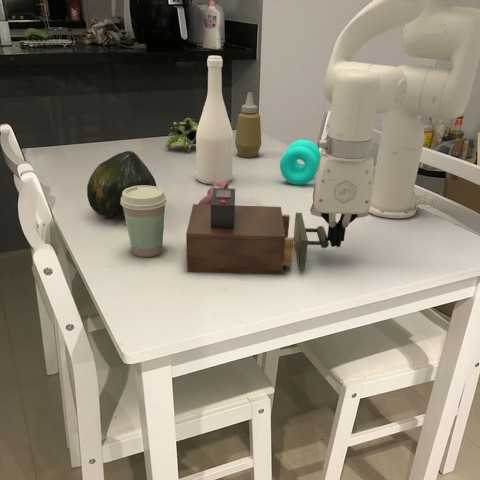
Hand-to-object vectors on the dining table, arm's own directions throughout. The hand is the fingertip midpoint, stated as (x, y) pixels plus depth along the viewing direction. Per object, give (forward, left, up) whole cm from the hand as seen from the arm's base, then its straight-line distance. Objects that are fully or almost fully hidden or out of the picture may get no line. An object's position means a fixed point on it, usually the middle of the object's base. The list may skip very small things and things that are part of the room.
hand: (334, 243), depth 103 cm
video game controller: (+25, -28, -3) cm, 38 cm away
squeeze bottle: (+17, -71, -3) cm, 73 cm away
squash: (+45, -20, -3) cm, 49 cm away
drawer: (+12, 0, -2) cm, 12 cm away
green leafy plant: (+36, -75, -3) cm, 83 cm away
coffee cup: (+37, -1, -3) cm, 37 cm away
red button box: (+22, 0, +4) cm, 22 cm away
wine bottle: (+26, -46, -3) cm, 53 cm away
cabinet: (+19, 0, -3) cm, 19 cm away
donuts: (+3, -48, -3) cm, 48 cm away
